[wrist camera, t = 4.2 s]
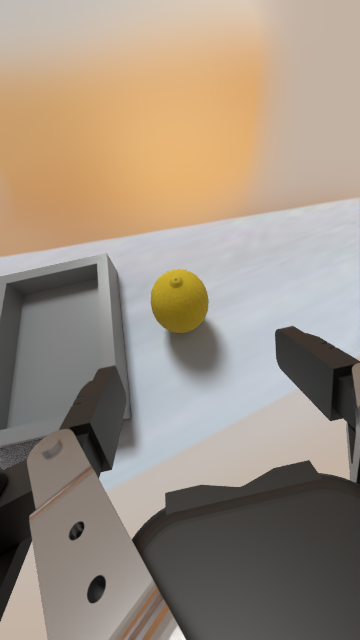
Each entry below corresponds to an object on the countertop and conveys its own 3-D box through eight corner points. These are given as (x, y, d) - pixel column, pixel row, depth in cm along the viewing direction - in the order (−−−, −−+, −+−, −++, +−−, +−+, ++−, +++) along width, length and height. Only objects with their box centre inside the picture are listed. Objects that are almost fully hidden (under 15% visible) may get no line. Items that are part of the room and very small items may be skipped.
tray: (-2, 448, 20) (-37, 454, 17) (20, 292, 28) (-3, 277, 25) (131, 418, 21) (119, 418, 17) (116, 271, 28) (106, 253, 25)
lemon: (152, 336, 24) (132, 302, 17) (166, 295, 26) (154, 248, 19) (201, 348, 23) (201, 316, 16) (211, 303, 25) (216, 257, 18)
